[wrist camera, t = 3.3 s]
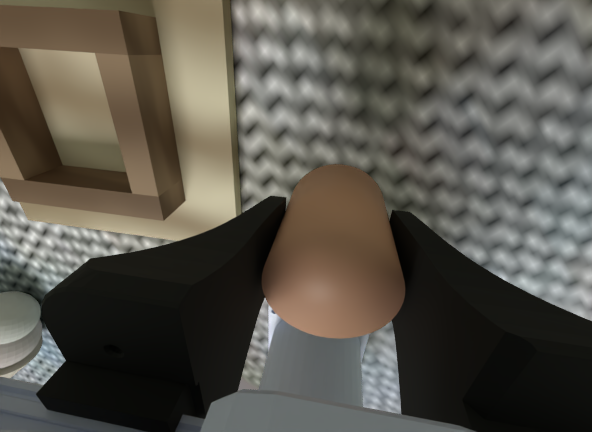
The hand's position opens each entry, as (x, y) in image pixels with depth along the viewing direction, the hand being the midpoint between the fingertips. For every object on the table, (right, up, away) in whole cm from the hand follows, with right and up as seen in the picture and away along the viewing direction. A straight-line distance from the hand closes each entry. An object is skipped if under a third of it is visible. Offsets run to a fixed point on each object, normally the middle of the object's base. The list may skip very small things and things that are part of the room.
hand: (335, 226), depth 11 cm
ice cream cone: (-30, -11, +19) cm, 37 cm away
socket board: (-13, +7, +6) cm, 15 cm away
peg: (0, +1, +1) cm, 2 cm away
